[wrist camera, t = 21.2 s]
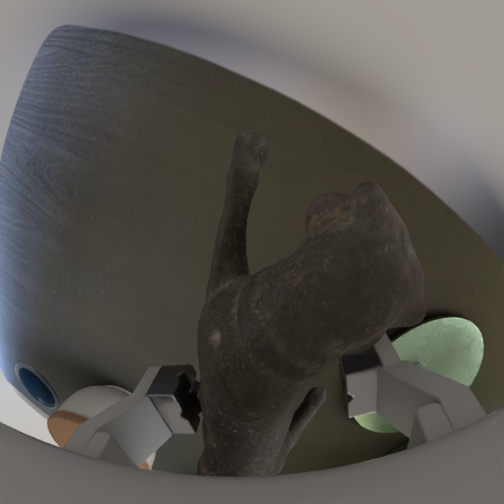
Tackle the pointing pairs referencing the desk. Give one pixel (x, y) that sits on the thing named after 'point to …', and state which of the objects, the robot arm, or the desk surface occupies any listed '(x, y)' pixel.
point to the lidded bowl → (86, 412)
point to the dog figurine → (293, 315)
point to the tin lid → (436, 355)
